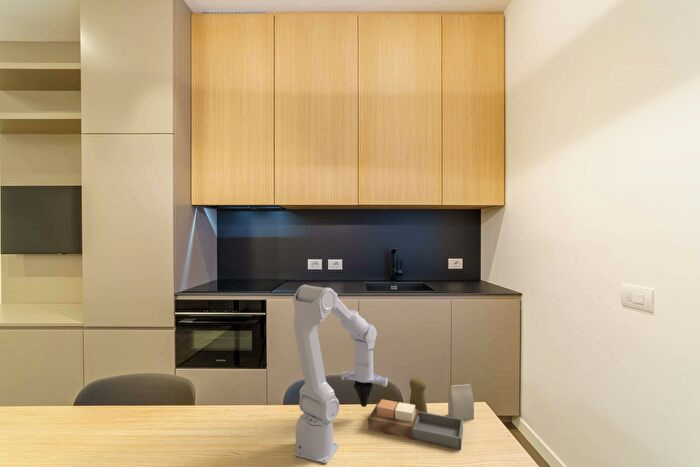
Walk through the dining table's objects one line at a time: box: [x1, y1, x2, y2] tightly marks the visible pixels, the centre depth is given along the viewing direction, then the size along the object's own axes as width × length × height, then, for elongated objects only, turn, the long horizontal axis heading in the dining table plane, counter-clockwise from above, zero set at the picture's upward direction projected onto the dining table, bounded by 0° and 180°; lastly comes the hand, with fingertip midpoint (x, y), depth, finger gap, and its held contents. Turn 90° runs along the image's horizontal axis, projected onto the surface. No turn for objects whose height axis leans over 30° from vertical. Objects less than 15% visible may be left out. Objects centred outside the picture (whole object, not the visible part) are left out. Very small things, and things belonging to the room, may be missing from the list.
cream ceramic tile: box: [395, 401, 415, 422], centre depth 101 cm, size 5×5×2 cm
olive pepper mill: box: [409, 376, 428, 413], centre depth 109 cm, size 6×6×11 cm
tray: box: [411, 411, 464, 451], centre depth 98 cm, size 13×10×3 cm
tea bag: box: [447, 383, 475, 421], centre depth 107 cm, size 4×7×10 cm, turn 98°
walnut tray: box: [367, 401, 419, 440], centre depth 103 cm, size 13×10×4 cm
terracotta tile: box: [377, 399, 398, 418], centre depth 103 cm, size 5×5×2 cm
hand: (364, 405), depth 106 cm, fingers closed
